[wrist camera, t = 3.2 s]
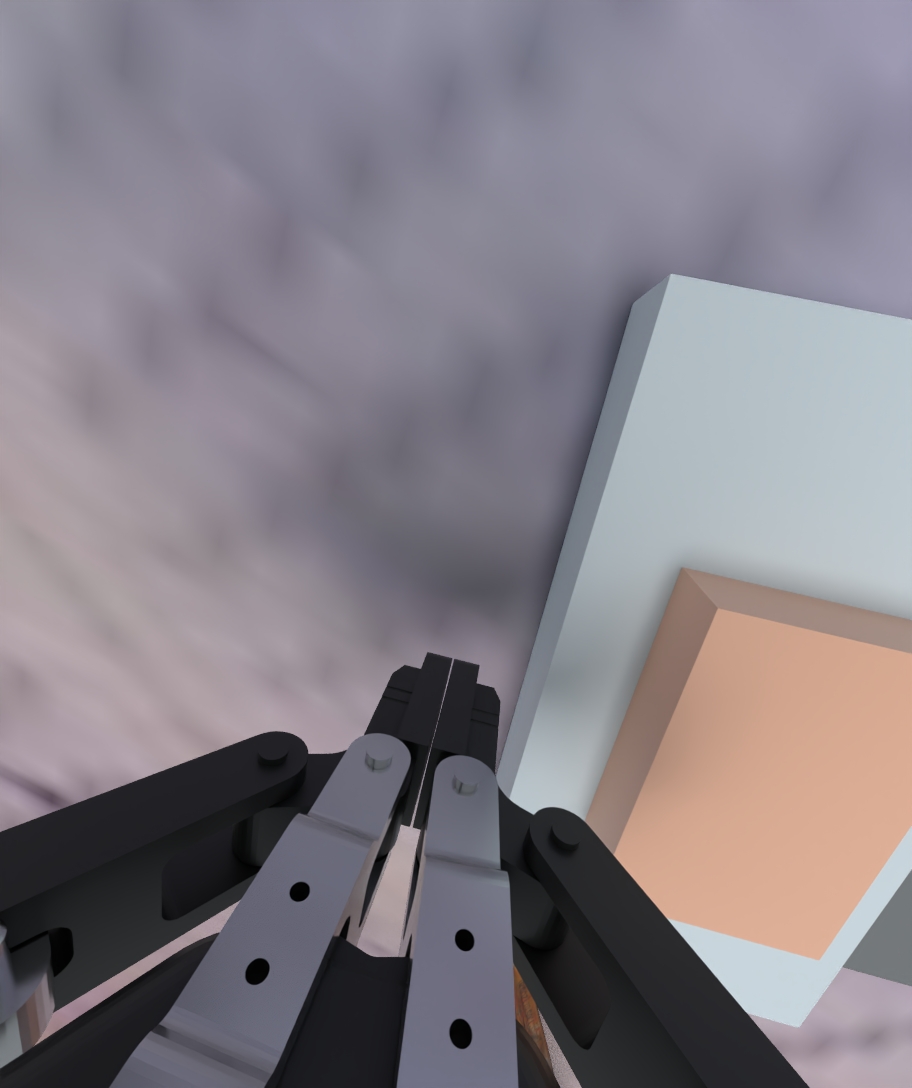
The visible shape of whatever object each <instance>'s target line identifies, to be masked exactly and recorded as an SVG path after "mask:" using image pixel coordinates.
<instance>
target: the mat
mask: <svg viewBox="0 0 912 1088" xmlns="http://www.w3.org/2000/svg"><path fill="white" fill-rule="evenodd" d="M842 967H844V968H848V969H851V970H855V971H859V972H862V973H866V974H869V975H873V976H876V977H880V978H884V979H887V980H891V981H894V982H898V983H902V984H905V985H909V986H912V870H911V871H910V873H909V874H908V875H907V877H906V878H905V880H904V881H903V882H902V884H901V885H900V887H899V888H898V889H897V891H896V892H895V894H894V895H893V896H892V898H891V899H890V901H889V902H888V903H887V905H886V906H885V908H884V909H883V910H882V912H881V913H880V915H879V916H878V917H877V919H876V920H875V922H874V923H873V924H872V926H871V927H870V929H869V930H868V931H867V933H866V934H865V936H864V937H863V938H862V940H861V941H860V943H859V944H858V945H857V947H856V948H855V950H854V951H853V952H852V954H851V955H850V957H849V958H848V959H847V961H846V962H845V964H844V965H843V966H842Z"/></svg>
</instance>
